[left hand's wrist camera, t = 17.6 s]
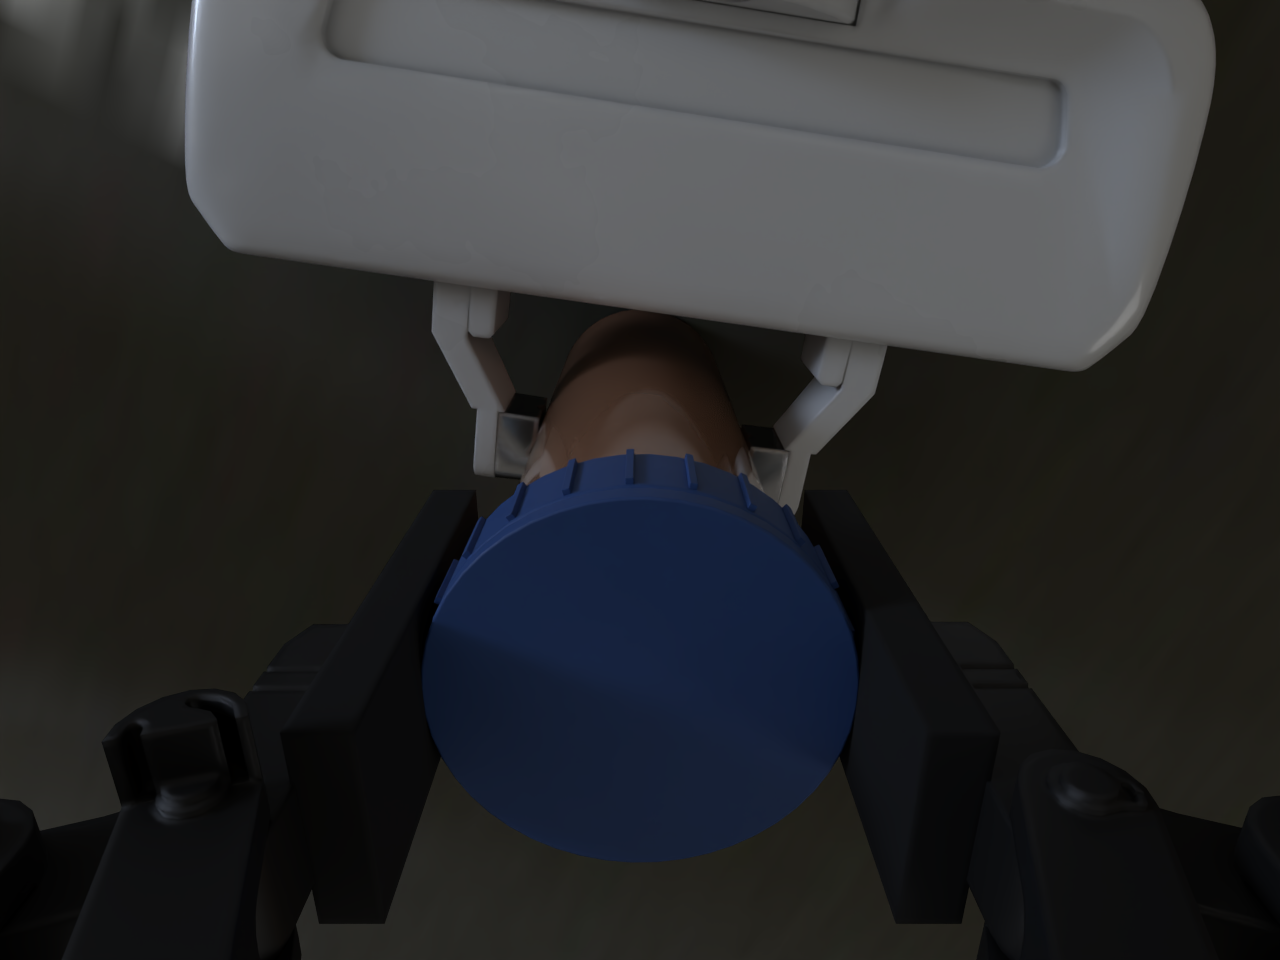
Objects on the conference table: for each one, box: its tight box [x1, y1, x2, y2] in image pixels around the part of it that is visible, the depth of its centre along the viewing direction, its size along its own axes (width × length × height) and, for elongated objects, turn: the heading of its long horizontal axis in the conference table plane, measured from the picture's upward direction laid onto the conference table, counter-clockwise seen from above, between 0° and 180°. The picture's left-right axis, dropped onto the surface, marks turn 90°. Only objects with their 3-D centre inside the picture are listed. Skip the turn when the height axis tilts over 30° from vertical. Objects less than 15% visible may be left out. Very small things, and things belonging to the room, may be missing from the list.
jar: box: [519, 310, 765, 493], centre depth 18 cm, size 5×5×15 cm
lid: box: [421, 449, 859, 862], centre depth 11 cm, size 6×6×2 cm
